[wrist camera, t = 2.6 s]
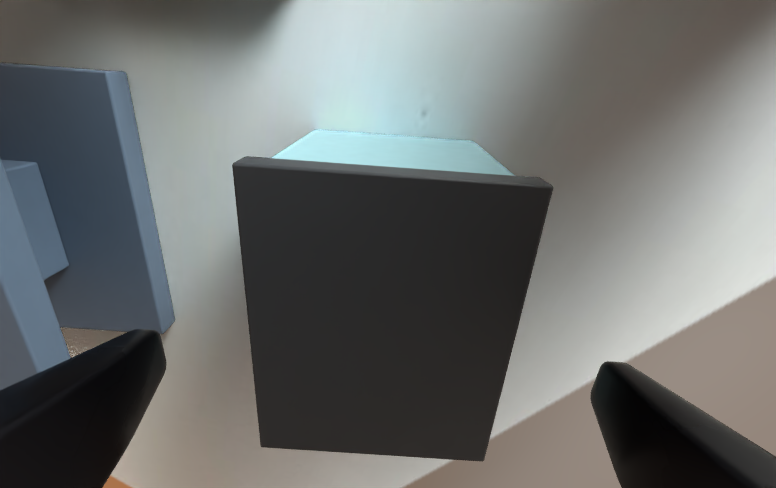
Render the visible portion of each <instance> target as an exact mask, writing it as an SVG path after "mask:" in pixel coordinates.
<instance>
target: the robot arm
mask: <svg viewBox="0 0 776 488" xmlns="http://www.w3.org/2000/svg"><path fill="white" fill-rule="evenodd" d="M165 370H166V358H165V353H164V349H163V344H162V340H161V336H160V334H159V332H158V331H156V330H149V329H134V330H132V331H129V332H127V333H125V334H123V335H121V336H118V337H116V338H114V339H112V340H110V341H107V342H105V343H103V344H101V345H99V346H96V347H94V348H92V349H90V350H88V351H85V352H83V353H81V354H79V355H77V356H74V357H72V358H70V359H68V360H66V361H63V362H61V363H59V364H57V365H55V366H52V367H50V368H48V369H46V370H44V371H41V372H39V373H37V374H35V375H33V376H30V377H28V378H26V379H24V380H22V381H20V382H17V383H15V384H13V385H11V386H9V387H6V388H4V389H2V390H0V488H102V487H103V486H104V484H105V483H106V481H107V479H108V478H109V476H110V475H111V473H112V471H113V470H114V468H115V467H116V465H117V463H118V462H119V460H120V458H121V457H122V455H123V453H124V452H125V450H126V448H127V447H128V445H129V443H130V441H131V439H132V437H133V435H134V434H135V432H136V430H137V428H138V426H139V424H140V422H141V420H142V418H143V416H144V414H145V412H146V410H147V408H148V406H149V404H150V402H151V400H152V398H153V396H154V394H155V392H156V390H157V388H158V386H159V384H160V382H161V380H162V378H163V376H164V373H165ZM591 403H592V406H593V409H594V412H595V415H596V418H597V421H598V424H599V426H600V429H601V432H602V435H603V438H604V441H605V444H606V447H607V450H608V453H609V455H610V458H611V461H612V464H613V467H614V470H615V472H616V475H617V477H618V480H619V482H620V485H621V487H622V488H776V457H775V456H774V455H772V454H771V453H769V452H768V451H766V450H764V449H763V448H761V447H760V446H758V445H756V444H755V443H753V442H752V441H750V440H748V439H747V438H745V437H743V436H742V435H740V434H739V433H737V432H736V431H734V430H732V429H731V428H729V427H728V426H726V425H725V424H723V423H721V422H720V421H718V420H716V419H715V418H713V417H712V416H710V415H709V414H707V413H705V412H704V411H702V410H701V409H699V408H697V407H696V406H694V405H693V404H691V403H689V402H688V401H686V400H685V399H683V398H682V397H680V396H678V395H676V394H675V393H674V392H672V391H670V390H669V389H667V388H666V387H664V386H662V385H661V384H659V383H658V382H656V381H654V380H653V379H651V378H650V377H648V376H646V375H645V374H643V373H642V372H640V371H638V370H637V369H635V368H634V367H632V366H631V365H629V364H627V363H623V362H609V361H608V362H604V363H603V364H602V365H601V367H600V369H599V372H598V374H597V377H596V380H595V382H594V385H593V387H592V390H591Z"/></svg>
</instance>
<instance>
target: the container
mask: <svg viewBox="0 0 776 488" xmlns="http://www.w3.org/2000/svg"><path fill="white" fill-rule="evenodd" d="M232 166H233V176H234V186H235V196H236V206H237V216H238V226H239V236H240V245H241V255H242V265H243V275H244V285H245V295H246V305H247V315H248V324H249V334H250V344H251V354H252V364H253V374H254V384H255V394H256V403H257V413H258V423H259V433H260V443H261V447H267V448H282V449H298V450H313V451H329V452H344V453H360V454H375V455H391V456H406V457H422V458H437V459H453V460H469V461H484V458H485V454H486V450H487V446H488V442H489V438H490V435H491V431H492V427H493V423H494V419H495V415H496V411H497V407H498V403H499V399H500V395H501V391H502V387H503V384H504V380H505V376H506V372H507V368H508V364H509V360H510V356H511V352H512V348H513V344H514V340H515V336H516V333H517V329H518V325H519V321H520V317H521V313H522V309H523V305H524V301H525V297H526V293H527V289H528V285H529V282H530V278H531V274H532V270H533V266H534V262H535V258H536V254H537V250H538V246H539V242H540V238H541V234H542V231H543V227H544V223H545V219H546V215H547V211H548V207H549V203H550V199H551V195H552V191H553V186H552V185H550V184H549V183H547V182H546V181H544V180H543V179H541V178H538V177H525V176H515V175H514V174H513V173H511V172H510V171H509V170H508V169H507V168H505V167H504V166H503V165H502V164H500V163H499V162H498V161H497V160H496V159H494V158H493V157H492V156H491V155H490V154H488V153H487V152H486V151H485V150H483V149H482V148H481V147H480V146H479V145H477V144H476V143H475V142H474V141H469V140H455V139H441V138H428V137H414V136H400V135H387V134H373V133H359V132H346V131H332V130H318V129H315V130H313V131H312V132H310V133H309V134H307V135H306V136H304V137H303V138H301V139H299V140H298V141H296V142H295V143H293V144H292V145H290V146H289V147H287V148H285V149H284V150H282V151H281V152H279V153H278V154H276V155H275V156H273V157H271V158H262V157H248V156H247V157H244V158H242V159H240V160H238V161H236V162H235V163H233V165H232Z"/></svg>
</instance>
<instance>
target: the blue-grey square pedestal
mask: <svg viewBox="0 0 776 488" xmlns="http://www.w3.org/2000/svg"><path fill="white" fill-rule="evenodd" d="M174 321H175V317H174V312H173V307H172V302H171V297H170V292H169V287H168V282H167V277H166V271H165V266H164V261H163V256H162V251H161V246H160V241H159V236H158V231H157V226H156V221H155V216H154V211H153V205H152V200H151V195H150V190H149V185H148V180H147V175H146V170H145V165H144V160H143V155H142V150H141V145H140V139H139V134H138V129H137V124H136V119H135V114H134V109H133V104H132V99H131V94H130V89H129V84H128V79H127V74H126V73H125V72H123V71H111V70H97V69H84V68H71V67H57V66H44V65H30V64H17V63H3V62H0V390H2V389H4V388H6V387H9V386H11V385H13V384H15V383H17V382H20V381H22V380H24V379H26V378H28V377H30V376H33V375H35V374H37V373H39V372H41V371H44V370H46V369H48V368H50V367H52V366H55V365H57V364H59V363H61V362H63V361H66V360H68V359H70V358H71V357H70V354H69V351H68V348H67V346H66V343H65V340H64V337H63V334H62V331H61V329H60V327H64V328H79V329H94V330H109V331H123V332H129V331H132V330H134V329H149V330H156V331H158V332H159V334H163V333H164V332H165V331H166V330H167V329H168V328H169V327H170V326H171V325H172V324H173V322H174Z"/></svg>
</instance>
